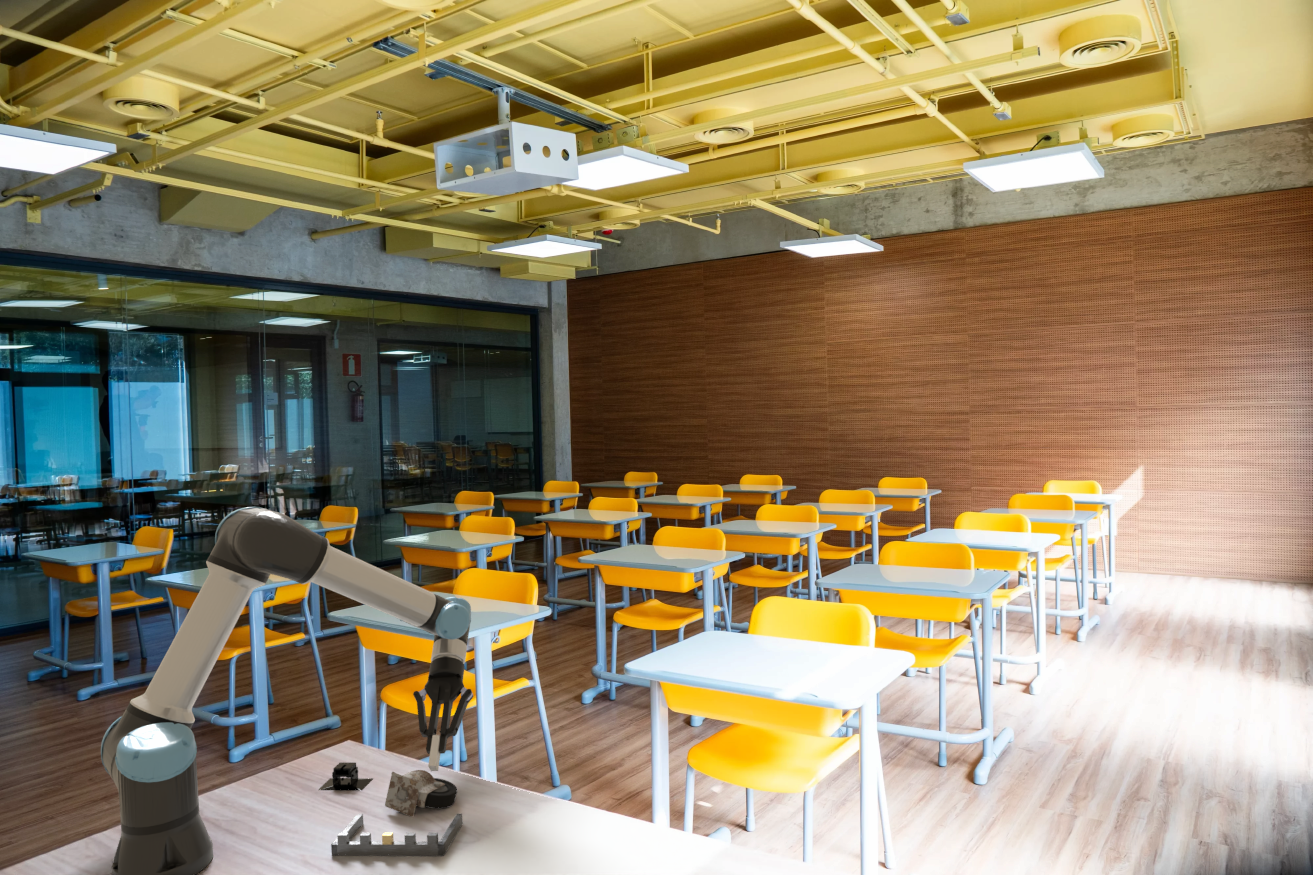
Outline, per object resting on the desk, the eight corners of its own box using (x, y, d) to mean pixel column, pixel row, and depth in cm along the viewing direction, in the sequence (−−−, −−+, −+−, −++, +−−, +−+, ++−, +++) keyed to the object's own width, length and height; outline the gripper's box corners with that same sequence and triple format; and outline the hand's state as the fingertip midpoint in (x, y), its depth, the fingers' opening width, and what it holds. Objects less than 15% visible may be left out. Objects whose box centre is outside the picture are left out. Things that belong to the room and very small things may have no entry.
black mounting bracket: (309, 794, 173) (307, 772, 173) (325, 778, 181) (324, 757, 180) (367, 794, 172) (366, 772, 172) (382, 778, 179) (381, 757, 179)
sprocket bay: (331, 855, 148) (330, 835, 148) (358, 823, 159) (357, 805, 159) (443, 855, 147) (442, 835, 146) (462, 823, 158) (461, 804, 157)
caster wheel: (460, 809, 169) (432, 826, 159) (412, 791, 172) (382, 806, 163) (467, 776, 169) (439, 791, 159) (420, 758, 172) (390, 772, 163)
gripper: (479, 669, 193) (468, 773, 177) (422, 672, 193) (405, 776, 177) (474, 653, 187) (461, 759, 171) (414, 656, 187) (397, 762, 171)
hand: (433, 768), depth 174 cm, fingers closed
